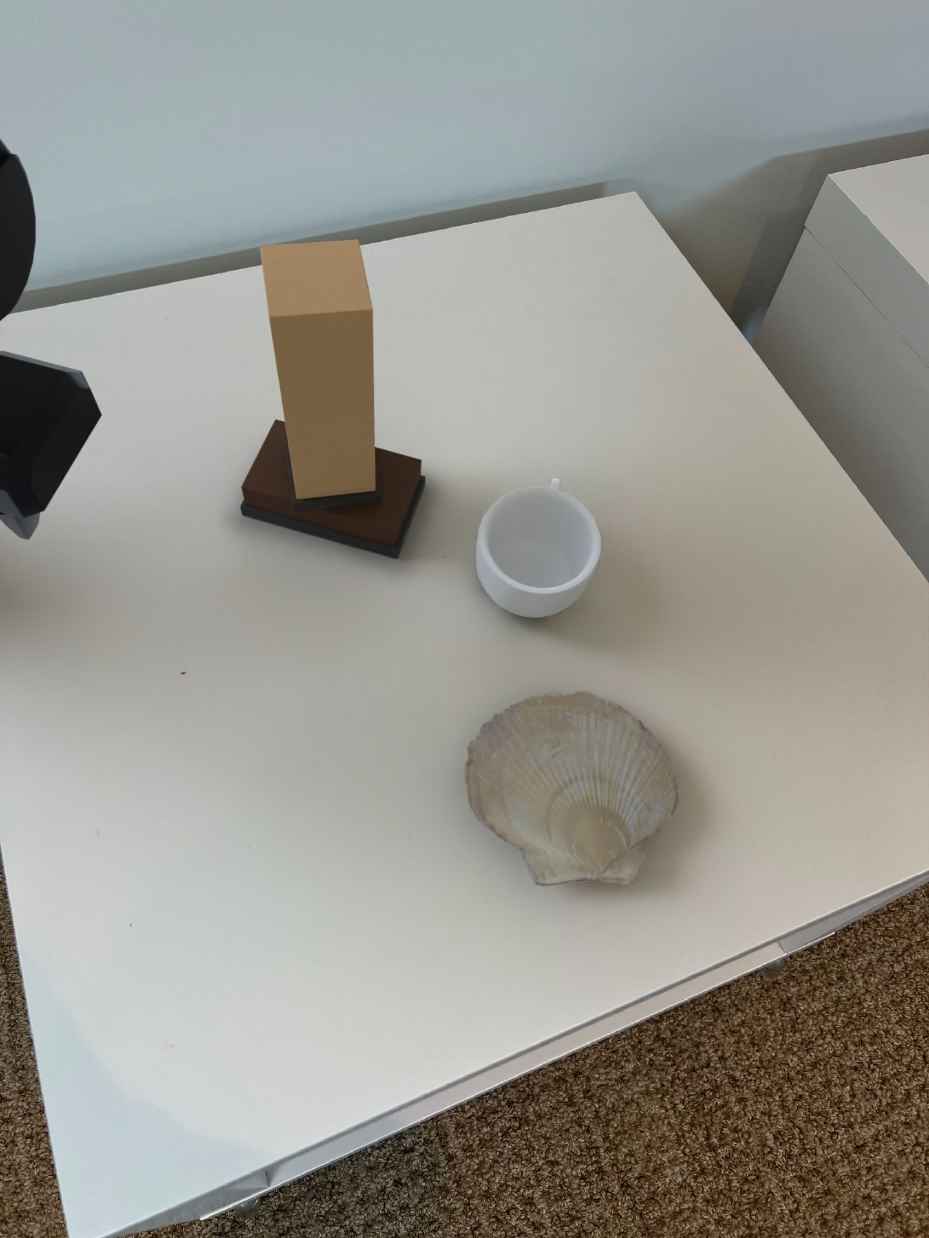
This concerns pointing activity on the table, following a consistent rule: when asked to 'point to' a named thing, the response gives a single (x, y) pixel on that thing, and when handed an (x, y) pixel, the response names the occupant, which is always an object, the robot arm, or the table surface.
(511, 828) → the seashell
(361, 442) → the tan block on base
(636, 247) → the table surface
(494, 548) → the teacup
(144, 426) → the table surface
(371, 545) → the brown slab
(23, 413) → the robot arm
